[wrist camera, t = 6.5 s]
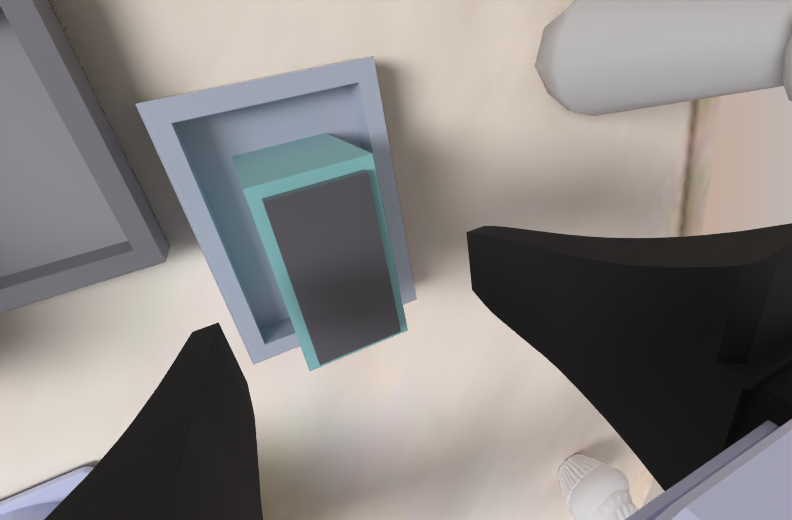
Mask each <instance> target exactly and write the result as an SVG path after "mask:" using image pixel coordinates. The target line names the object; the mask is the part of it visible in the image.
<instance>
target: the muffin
mask: <svg viewBox="0 0 792 520" xmlns="http://www.w3.org/2000/svg"><path fill="white" fill-rule="evenodd" d="M558 478H559V482H560V485H561V488H562V491H563V495H564V498H565V501H566V504H567V507H569V508H570V511H571V514H572V516H573V518H574V519H575V520H625V519H626V518H628V517H629V516H631V515H632V514H633V513H635V512H636V511H638V509H637V507H636V506H635V505H634V504H633V503H632V499H631V496H630V493H629V483H628V480H627V478H626V476H625V475H624V474H623V473H622V472H621V471H620V470H618V469H616V468H613V467H610V465H608V464H607V463H604V462H601V461H599V460H596V459H593V458H590V457H588V456H585V455H582V454H575V455H573V456H571V457H570V458H568V459H567V460H566V461H565V462H564V463H563V464H562V465H561V466H560V468H559V471H558Z"/></svg>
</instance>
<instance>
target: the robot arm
mask: <svg viewBox="0 0 792 520" xmlns="http://www.w3.org/2000/svg"><path fill="white" fill-rule="evenodd" d="M467 241H468V252H469V262H470V272H471V282H472V290H473V291H474V293H475V294H476V295H477V296H478V297H479V298H480V300H481V301H482V302H483V303H484V304H485V305H486V306H487V307H488V309H489V310H490V311H491V312H492V313H493V314H494V315H496V316H497V317H498V318H499V319H500V320H501V321H503V322H504V323H505V324H506V325H507V326H509V327H510V328H511V329H512V330H513V331H515V332H516V333H517V334H518V335H519V336H521V337H522V338H523V339H524V340H525V341H527V342H528V343H529V344H530V345H531V346H533V347H534V348H535V349H536V350H537V351H539V352H540V353H541V354H542V355H544V356H545V357H546V358H547V359H548V360H549V361H550V362H551V363H553V364H554V365H555V366H556V367H557V368H558V369H559V370H560V371H561V372H562V373H563V374H564V375H565V376H566V377H567V378H568V379H569V380H570V381H571V382H572V383H573V384H574V385H575V386H576V387H577V388H578V389H579V390H580V392H581V393H582V394H583V395H584V396H585V397H586V398H587V399H588V400H589V401H590V402H591V404H592V405H593V406H594V407H595V408H596V409H597V410H598V411H599V412H600V413H601V414H602V416H603V417H604V418H605V419H606V420H607V421H608V422H609V423H610V425H611V426H612V427H613V428H614V429H615V431H616V432H617V433H618V434H619V435H620V436H621V438H622V439H623V440H624V441H625V442H626V443H627V445H628V446H629V447H630V448H631V449H632V451H633V452H634V453H635V454H636V455H637V457H638V458H639V459H640V460H641V462H642V463H643V464H644V465H645V467H646V468H647V469H648V471H649V472H650V473H651V474H652V476H653V477H654V478H655V479H656V481H657V482H658V483H659V484H660V486H661V487H662V488H663V489H664V491H665V492H664V493H662V494H661V495H659V496H658V497H656V498H655V499H654V500H652V501H651V502H649V503H648V504H646V505H645V506H644V507H642V508H641V509H639V510H638V511H636V512H635V513H633V514H632V515H631V516H629V517H628V518H626V519H625V520H792V224H785V225H779V226H772V227H766V228H760V229H753V230H747V231H739V232H731V233H721V234H712V235H701V236H688V237H668V238H603V237H588V236H577V235H566V234H557V233H549V232H541V231H533V230H525V229H517V228H509V227H498V226H483V227H480V228H477V229H475V230H472V231H469V232H467ZM0 520H263V516H262V507H261V497H260V483H259V469H258V455H257V441H256V428H255V416H254V412H253V407H252V402H251V397H250V393H249V388H248V384H247V381H246V379H245V377H244V375H243V373H242V371H241V369H240V367H239V364H238V362H237V360H236V358H235V356H234V354H233V352H232V350H231V348H230V346H229V344H228V341H227V339H226V337H225V335H224V333H223V331H222V329H221V327H220V325H219V323H216V324H213V325H210V326H208V327H205V328H202V329H199V330H197V331H194V332H192V334H191V335H190V337H189V338H188V340H187V341H186V343H185V345H184V346H183V348H182V350H181V351H180V353H179V354H178V356H177V358H176V359H175V361H174V363H173V364H172V366H171V367H170V369H169V370H168V372H167V373H166V375H165V377H164V378H163V380H162V381H161V383H160V384H159V386H158V387H157V389H156V390H155V391H154V393H153V394H152V396H151V397H150V398H149V400H148V401H147V403H146V404H145V405H144V407H143V408H142V410H141V411H140V412H139V414H138V415H137V416H136V418H135V419H134V421H133V422H132V423H131V425H130V426H129V427H128V428H127V430H126V431H125V432H124V433H123V435H122V436H121V437H120V438H119V440H118V441H117V442H116V443H115V444H114V446H113V447H112V448H111V449H110V450H109V451H108V452H107V454H106V455H105V456H104V457H103V458H102V459H101V461H100V462H99V463H98V464H97V465H96V466H95V467H90V466H89V467H82V468H79V469H77V470H74V471H72V472H70V473H67V474H65V475H63V476H60V477H58V478H55V479H53V480H51V481H48V482H46V483H44V484H41V485H39V486H36V487H34V488H32V489H29V490H27V491H25V492H22V493H20V494H17V495H15V496H13V497H10V498H8V499H6V500H3V501H1V502H0Z"/></svg>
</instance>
